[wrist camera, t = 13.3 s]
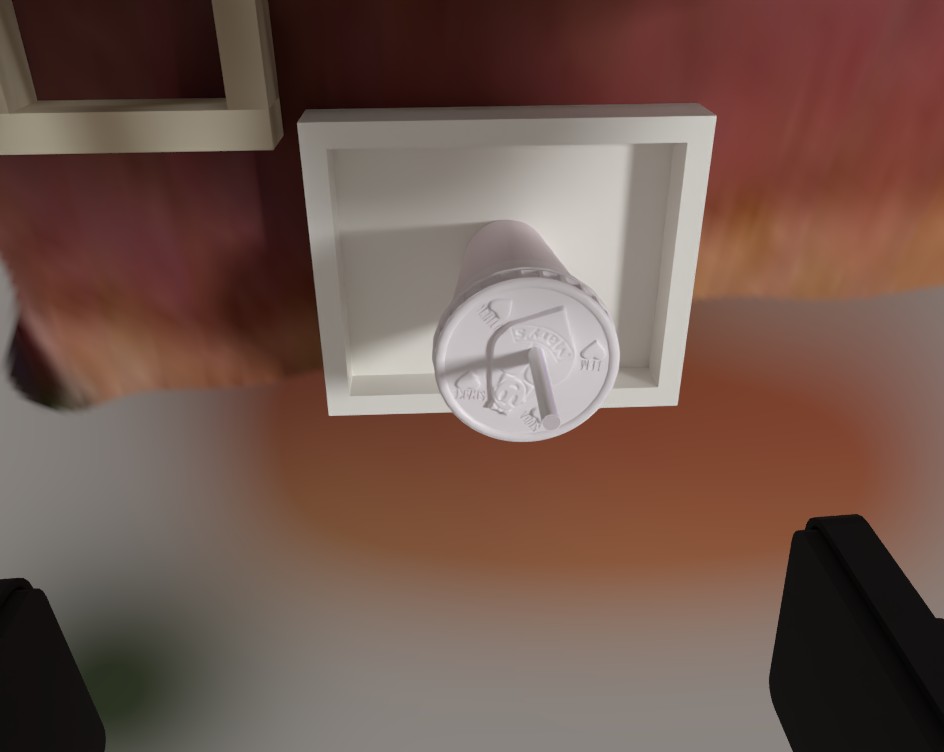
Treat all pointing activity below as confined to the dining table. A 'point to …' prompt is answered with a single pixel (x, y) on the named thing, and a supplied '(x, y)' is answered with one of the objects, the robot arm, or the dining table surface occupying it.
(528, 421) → the smoothie
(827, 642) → the robot arm
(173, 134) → the frame
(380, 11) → the dining table surface
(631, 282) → the tray
